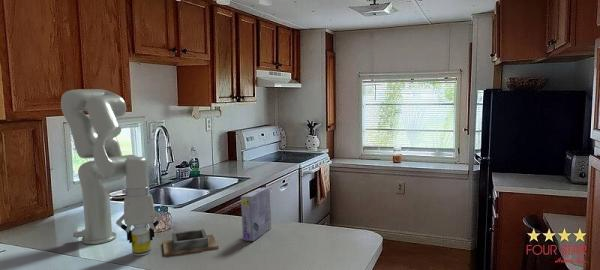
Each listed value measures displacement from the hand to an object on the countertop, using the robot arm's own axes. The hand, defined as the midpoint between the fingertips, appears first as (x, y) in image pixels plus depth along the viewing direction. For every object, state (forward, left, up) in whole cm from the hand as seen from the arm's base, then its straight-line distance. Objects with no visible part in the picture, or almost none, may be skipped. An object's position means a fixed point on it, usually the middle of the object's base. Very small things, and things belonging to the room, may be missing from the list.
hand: (141, 240), depth 155 cm
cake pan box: (+44, +3, -5) cm, 44 cm away
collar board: (+17, 0, -5) cm, 18 cm away
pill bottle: (0, 0, -5) cm, 5 cm away
